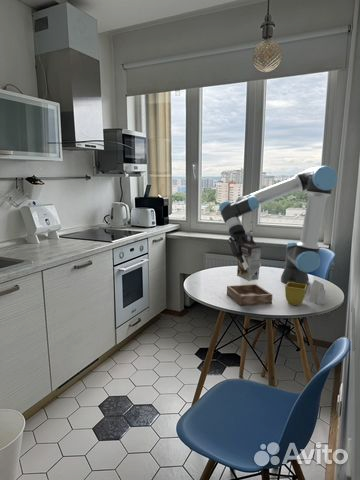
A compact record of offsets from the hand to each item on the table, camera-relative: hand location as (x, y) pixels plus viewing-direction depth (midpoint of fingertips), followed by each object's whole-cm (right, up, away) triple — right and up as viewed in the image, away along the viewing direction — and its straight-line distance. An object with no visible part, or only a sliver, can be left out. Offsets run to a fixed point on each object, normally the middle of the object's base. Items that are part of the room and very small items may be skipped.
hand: (253, 267), depth 153 cm
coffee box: (-2, -5, +4) cm, 7 cm away
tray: (-1, -16, +6) cm, 17 cm away
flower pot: (+20, -17, +2) cm, 26 cm away
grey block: (+32, -17, +5) cm, 36 cm away
